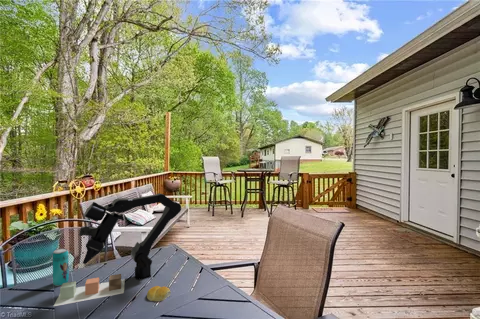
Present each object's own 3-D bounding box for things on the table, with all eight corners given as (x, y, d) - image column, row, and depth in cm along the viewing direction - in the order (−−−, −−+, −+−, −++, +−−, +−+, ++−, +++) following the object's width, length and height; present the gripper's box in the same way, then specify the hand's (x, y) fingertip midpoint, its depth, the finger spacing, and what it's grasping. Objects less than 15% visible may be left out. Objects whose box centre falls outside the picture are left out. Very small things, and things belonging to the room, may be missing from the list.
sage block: (75, 292, 106) (75, 281, 106) (73, 297, 102) (73, 286, 102) (63, 294, 104) (62, 283, 104) (60, 299, 100) (60, 288, 100)
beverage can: (60, 288, 111) (60, 253, 110) (49, 286, 112) (49, 252, 112) (71, 281, 116) (71, 248, 116) (61, 280, 117) (60, 247, 117)
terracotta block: (99, 287, 109) (99, 277, 109) (98, 293, 105) (97, 282, 105) (87, 290, 108) (87, 279, 108) (85, 295, 103) (85, 284, 103)
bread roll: (154, 291, 108) (154, 281, 108) (173, 293, 106) (173, 284, 106) (142, 301, 100) (141, 291, 100) (162, 304, 98) (162, 294, 98)
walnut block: (121, 283, 113) (121, 273, 113) (120, 288, 108) (120, 278, 108) (109, 286, 111) (109, 275, 111) (108, 290, 107) (108, 280, 107)
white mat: (124, 280, 117) (124, 279, 117) (123, 294, 105) (123, 293, 105) (62, 291, 108) (62, 290, 108) (53, 308, 96) (53, 306, 96)
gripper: (91, 216, 118) (70, 248, 113) (85, 220, 101) (60, 258, 96) (114, 226, 121) (95, 258, 116) (112, 231, 104) (90, 269, 100)
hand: (85, 260), depth 107 cm, fingers open, 9 cm apart
